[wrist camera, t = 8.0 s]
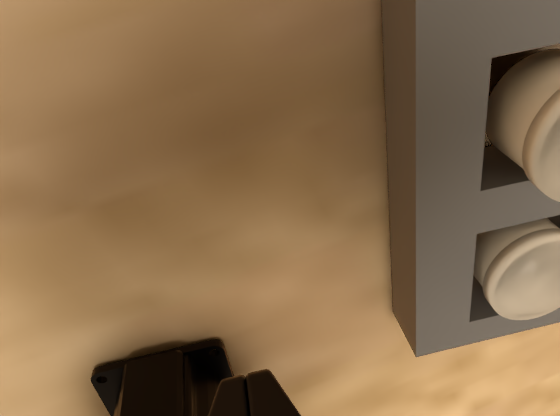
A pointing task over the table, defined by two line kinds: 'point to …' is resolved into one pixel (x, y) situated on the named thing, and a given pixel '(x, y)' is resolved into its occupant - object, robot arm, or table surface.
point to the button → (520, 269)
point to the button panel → (453, 161)
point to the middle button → (530, 118)
